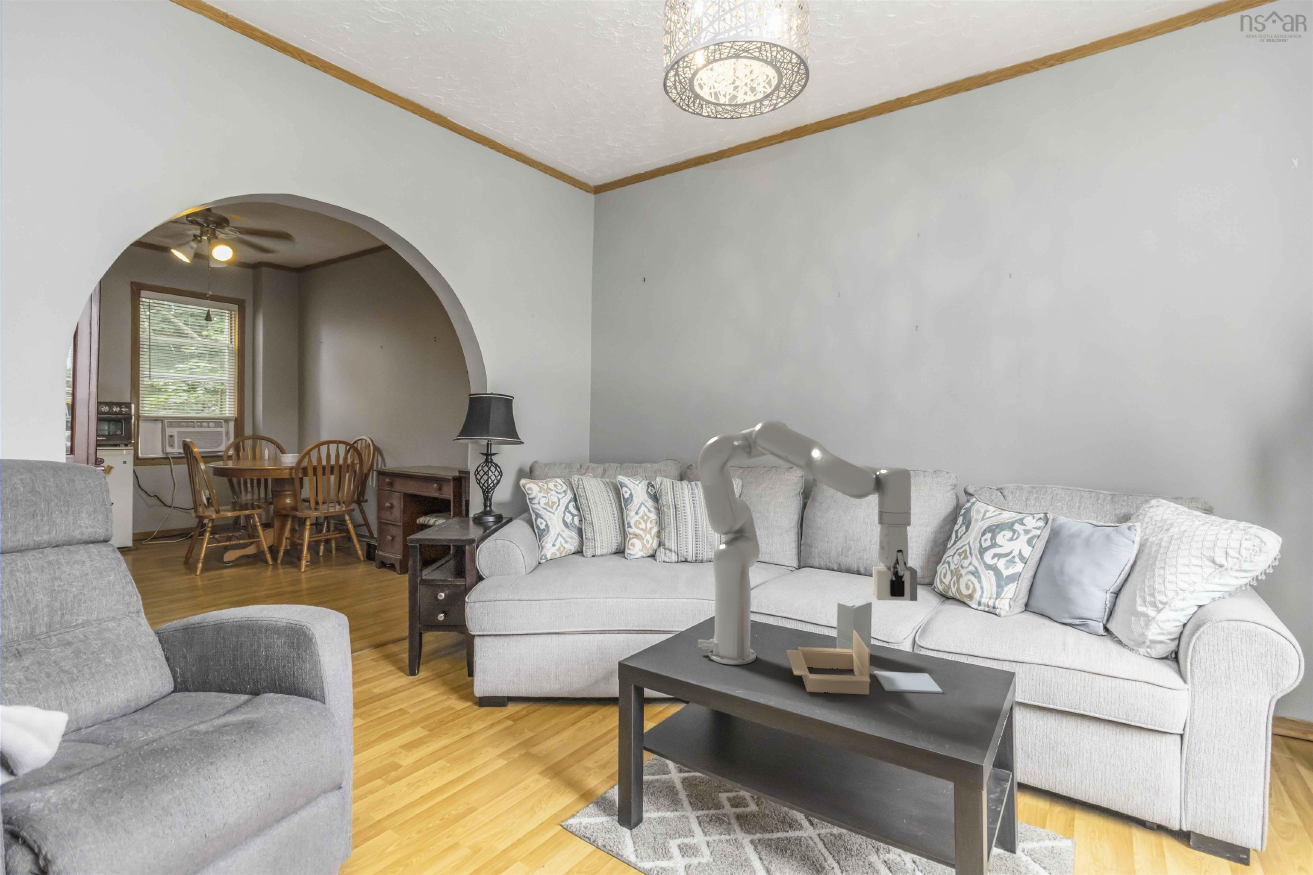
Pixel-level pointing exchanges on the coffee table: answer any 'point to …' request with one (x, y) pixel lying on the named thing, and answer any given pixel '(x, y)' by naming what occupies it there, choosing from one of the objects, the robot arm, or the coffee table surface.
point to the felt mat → (907, 682)
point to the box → (883, 584)
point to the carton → (833, 659)
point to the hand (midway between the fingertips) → (894, 592)
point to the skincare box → (853, 622)
